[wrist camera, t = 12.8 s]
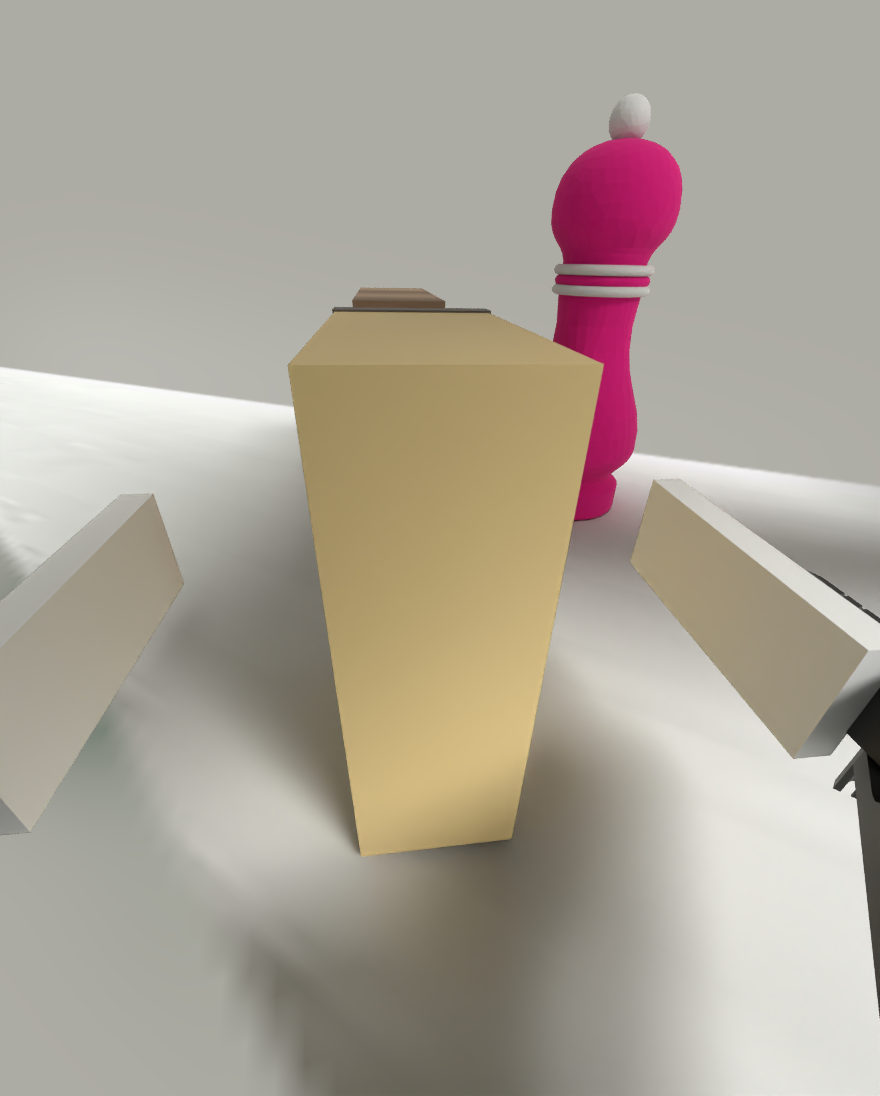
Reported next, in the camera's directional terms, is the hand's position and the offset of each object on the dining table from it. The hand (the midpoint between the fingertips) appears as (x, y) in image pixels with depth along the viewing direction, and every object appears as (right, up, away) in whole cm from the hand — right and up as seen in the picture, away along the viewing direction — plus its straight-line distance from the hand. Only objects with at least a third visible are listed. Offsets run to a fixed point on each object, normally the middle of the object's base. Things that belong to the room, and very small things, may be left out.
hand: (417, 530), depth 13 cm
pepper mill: (+9, +3, +19) cm, 21 cm away
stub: (0, -7, +3) cm, 7 cm away
